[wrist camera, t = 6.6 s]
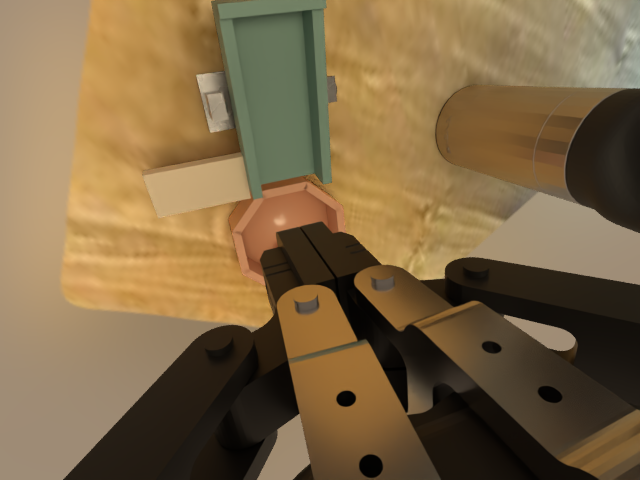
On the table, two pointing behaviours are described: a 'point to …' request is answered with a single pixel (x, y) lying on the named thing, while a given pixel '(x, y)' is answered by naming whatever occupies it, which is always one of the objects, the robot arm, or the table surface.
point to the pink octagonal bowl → (279, 219)
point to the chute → (260, 107)
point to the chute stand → (220, 103)
